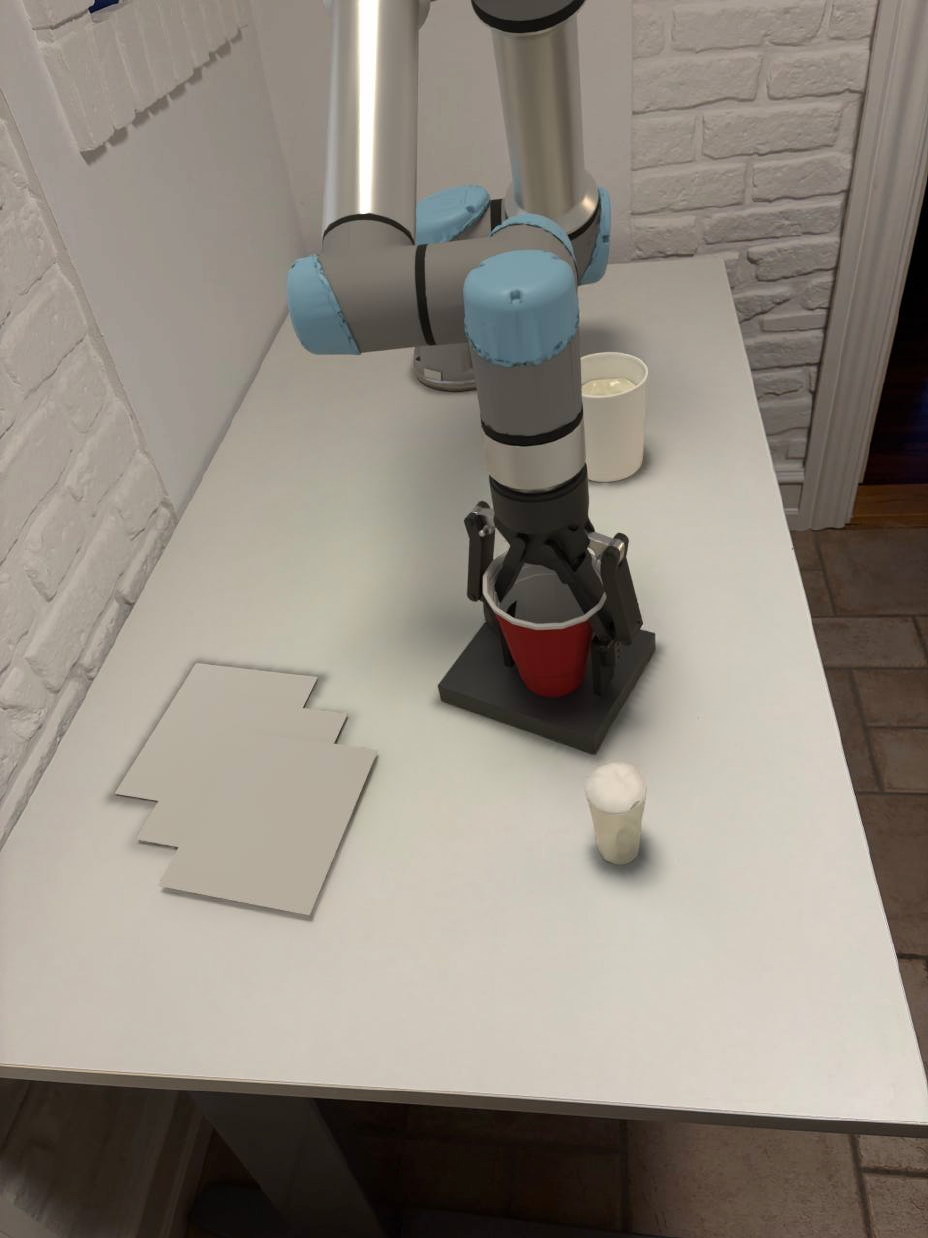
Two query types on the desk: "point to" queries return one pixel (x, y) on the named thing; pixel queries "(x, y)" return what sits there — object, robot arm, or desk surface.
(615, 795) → the milkshake
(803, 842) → the desk surface
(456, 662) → the dark grey flat block
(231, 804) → the paper stack
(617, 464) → the white paper cup
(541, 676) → the plastic cup
